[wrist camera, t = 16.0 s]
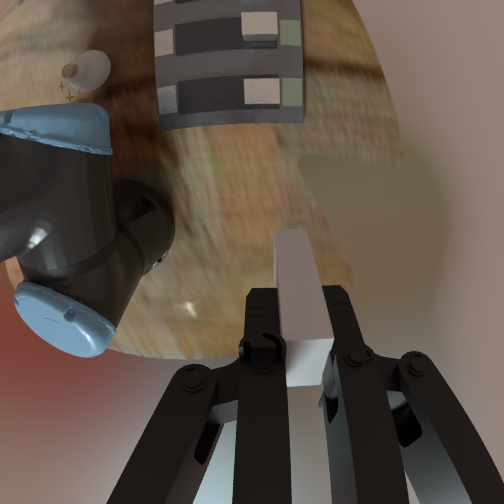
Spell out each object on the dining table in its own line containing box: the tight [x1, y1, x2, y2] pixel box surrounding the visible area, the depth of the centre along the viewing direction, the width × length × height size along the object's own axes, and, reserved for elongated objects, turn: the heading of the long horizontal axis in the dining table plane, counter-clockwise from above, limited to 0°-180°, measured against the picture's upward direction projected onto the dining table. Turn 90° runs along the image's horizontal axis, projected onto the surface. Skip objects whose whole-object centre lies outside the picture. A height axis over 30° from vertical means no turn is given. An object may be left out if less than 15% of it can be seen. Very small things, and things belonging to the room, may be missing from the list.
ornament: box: [59, 50, 111, 104], centre depth 23 cm, size 6×7×10 cm
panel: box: [153, 0, 304, 131], centre depth 23 cm, size 18×24×6 cm
